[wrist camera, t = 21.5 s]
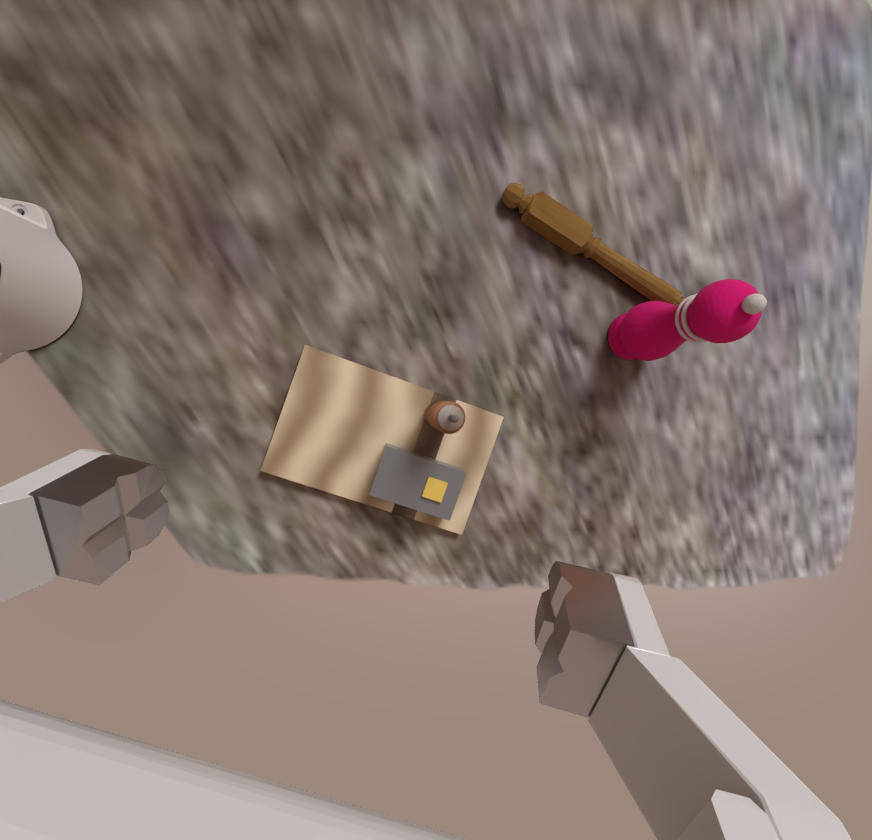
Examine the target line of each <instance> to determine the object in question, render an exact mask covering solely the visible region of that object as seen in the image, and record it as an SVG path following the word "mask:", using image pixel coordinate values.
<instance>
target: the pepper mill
mask: <svg viewBox="0 0 872 840" xmlns="http://www.w3.org/2000/svg"><path fill="white" fill-rule="evenodd" d="M766 304H767V301H766V298H765V297H764V296H763V295H761V294H758V292H757V291H756V289H755V288H754V287H752V286H751V285H750V284H748V283H746V282H744V281H741V280H734V279H727V280H721V281H717V282H714V283H712V284H710V285H708V286H706V287H704V288H703V289H702V290H701V291H700V292H699V293H698V294H695V295H692V296H689V297H687V298H686V299H684V300H683V301H682V302H681V303H680V305H672V304H669V303H666V302H661V301H649V302H645V303H641V304H638V305H636V306H634V307H633V308H632V309H630V310H629V311H628V312H627V313H625V314H622V315H620V316H618V317H617V318H616V319H615V320H614V321H613V322H612V324H611V326H610V328H609V331H608V342H609V345H610V347H611V349H612V351H613V352H614V353H615V354H616V355H617V356H618V357H620V358H622V359H626V360H634V359H639V360H645V361H651V360H656V359H659V358H663V357H665V356H667V355H668V354H670V353H672V352H673V351H675V350H676V349H677V348H678V347H679V346H680V345H681V344H682V343H683V342H685V341H687V340H688V341H690V342H694V343H701V342H705V341H710V342H713V343H728V342H732V341H736V340H738V339H740V338H742V337H744V336H746V335H747V334H748V333H750V332H751V331H752V330H753V329H754V328H755V326H756V325H757V323H758V321H759V319H760V317H761V313H762V310H763V309H764V308H765V306H766Z"/></svg>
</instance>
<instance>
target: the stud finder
mask: <svg viewBox="0 0 872 840" xmlns="http://www.w3.org/2000/svg"><path fill="white" fill-rule="evenodd" d="M466 474H467V473H466V472H465V471H464V470H463V469H461V468H459V467H456V466H453V465H450V464H447V463H444V462H441V461H438V460H435V459H432V458H429V457H426V456H423V455H420V454H417V453H415V452H412V451H409V450H406V449H403V448H400V447H397V446H394V445H391V444H388V443H386V445H385V448H384V451H383V454H382V457H381V459H380V462H379V465H378V468H377V471H376V474H375V476H374V479H373V482H372V485H371V488H370V493H369V495H371V496H374V497H377V498H380V499H383V500H386V501H389V502H393V503H396V504H399V505H402V506H405V507H408V508H411V509H415V510H418V511H421V512H424V513H427V514H430V515H433V516H436V517H440V518H443V519H446V520H449V521H450V519H451V516H452V513H453V510H454V508H455V505H456V502H457V499H458V496H459V493H460V491H461V488H462V485H463V482H464V479H465V476H466Z"/></svg>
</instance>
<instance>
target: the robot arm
mask: <svg viewBox="0 0 872 840" xmlns="http://www.w3.org/2000/svg"><path fill="white" fill-rule="evenodd" d="M23 212H25V214H24V215H22V213H23ZM81 300H82V281H81V276H80V272H79V269H78V267H77V265H76V262H75V260H74V259H73V257H72V255H71V254H70V252H69V251H68V250H67V249H66V247H65V246H64V245H63V244H62V242H61V241H60V240H59V238H58V237H57V235H56V233H55V229H54V226H53V223H52V220H51V217H50V215H49V213H48V212H47V211H46V210H45V209H44V208H42V207H40V206H38V205H35V204H32V203H27V202H22V201H17V200H11V199H6V198H1V197H0V363H2V362H3V361H5V360H6V359H8V358H9V357H11V356H12V355H13V354H16V353H19V352H23V351H28V350H33V349H36V348H39V347H42V346H45V345H47V344H49V343H51V342H53V341H54V340H56V339H57V338H58V337H60V336H61V335H62V334H63V333H64V332H65V331H66V330H67V329H68V328H69V327H70V326H71V324H72V323H73V321H74V319H75V318H76V316H77V314H78V311H79V308H80V305H81ZM164 485H165V479H164V474H163V470H162V469H161V468H159V467H158V466H156V465H153V464H149V463H145V462H142V461H138V460H134V459H130V458H126V457H123V456H119V455H115V454H110V453H106V452H102V451H98V450H94V449H81V450H79V451H76V452H74V453H72V454H70V455H68V456H66V457H63V458H61V459H59V460H57V461H55V462H53V463H51V464H49V465H47V466H45V467H42V468H40V469H39V470H36V471H34V472H32V473H30V474H28V475H26V476H24V477H22V478H19V479H18V480H15V481H13V482H11V483H9V484H7V485H5V486H3V487H1V488H0V603H1V602H3V601H5V600H8V599H10V598H12V597H15V596H17V595H19V594H21V593H24V592H26V591H28V590H30V589H33V588H35V587H37V586H40V585H42V584H44V583H46V582H49V581H51V580H53V579H55V578H56V577H57V576H61V577H66V578H70V579H74V580H78V581H83V582H87V583H92V584H96V585H100V584H101V583H103V582H104V581H105V580H106V579H108V578H109V577H110V576H111V575H112V574H113V573H115V572H116V571H117V570H118V569H120V568H121V567H122V566H123V565H124V564H126V563H127V562H128V561H129V559H130V555H131V551H133V550H135V549H138V548H141V547H144V546H147V545H148V544H149V543H151V542H152V541H153V540H154V539H155V538H156V537H157V536H159V534H160V532H161V531H162V529H163V527H164V526H165V524H166V522H167V518H168V513H169V509H168V501H167V500H166V498H165V497H164V496H163V494H162V493H161V492H160V490H161V489H162V487H163V486H164ZM56 575H57V576H56ZM548 579H549V588H550V589H548V590H547V591H545V592H543V593H542V595H541V598H540V601H539V604H538V608H537V614H536V620H535V645H536V646H537V647H538V649H539V650H540V652H541V653H542V654H541V657H540V660H539V662H538V665H537V676H538V690H539V703H541V704H544V705H548V706H551V707H554V708H558V709H561V710H564V711H568V712H571V713H574V714H578V715H581V716H585V717H588V718H589V722H590V724H591V726H592V728H593V729H594V731H595V733H596V734H597V736H598V738H599V740H600V741H601V743H602V745H603V747H604V748H605V750H606V752H607V753H608V755H609V757H610V759H611V760H612V762H613V764H614V765H615V767H616V769H617V771H618V772H619V774H620V776H621V778H622V779H623V781H624V783H625V784H626V786H627V788H628V789H629V791H630V793H631V795H632V796H633V798H634V800H635V802H636V803H637V805H638V807H639V808H640V810H641V812H642V814H643V815H644V817H645V819H646V821H647V822H648V824H649V826H650V827H651V829H652V831H653V832H654V834H655V836H656V838H657V840H851V838H850V836H849V834H848V833H847V831H846V829H845V828H844V826H843V824H842V822H841V821H840V820H839V819H838V818H837V817H836V816H835V815H834V814H833V813H832V812H831V811H830V810H829V809H828V808H827V807H826V806H825V805H824V804H823V803H822V802H821V801H820V800H819V799H818V798H817V797H816V796H815V795H814V794H813V793H812V792H811V790H810V789H808V787H807V786H805V784H803V782H801V780H799V778H798V777H796V775H794V773H793V772H792V771H790V770H789V768H788V767H787V766H786V765H785V764H784V763H783V762H781V760H780V759H778V757H777V756H776V755H775V754H774V753H773V752H772V751H771V750H770V749H769V748H768V747H766V745H765V744H764V743H763V742H762V741H761V740H760V739H759V738H758V737H757V736H756V735H755V734H754V733H753V732H752V731H751V730H750V729H749V728H748V727H747V726H746V725H745V724H744V723H743V722H742V721H741V720H740V719H739V718H738V717H737V716H736V715H735V714H734V713H733V712H732V711H731V710H730V709H729V708H728V707H727V706H726V705H725V704H724V703H723V702H722V701H721V700H720V699H719V698H718V697H717V696H716V695H715V694H714V693H713V692H712V691H711V690H710V689H709V688H708V687H707V686H706V685H705V684H704V683H703V682H702V681H701V680H700V679H699V678H698V677H697V676H696V675H695V674H694V673H693V672H692V671H691V670H690V669H689V668H688V667H687V666H686V665H685V664H684V663H683V662H682V661H681V660H680V659H678V658H674V657H670V654H669V652H668V649H667V647H666V644H665V642H664V639H663V637H662V634H661V632H660V629H659V627H658V624H657V622H656V619H655V617H654V614H653V612H652V609H651V607H650V604H649V602H648V599H647V596H646V594H645V592H644V589H643V587H642V584H641V582H640V581H639V580H638V579H637V578H633V577H628V576H623V575H619V574H614V573H606V572H602V571H597V570H593V569H589V568H585V567H580V566H576V565H572V564H567V563H563V562H559V561H555V563H554V564H553V566H552V568H551V570H550V573H549V575H548ZM0 840H469V839H465V838H462V837H459V836H455V835H452V834H449V833H445V832H442V831H439V830H435V829H432V828H428V827H425V826H421V825H419V824H415V823H412V822H408V821H405V820H402V819H398V818H395V817H391V816H389V815H385V814H382V813H378V812H375V811H372V810H368V809H365V808H362V807H358V806H355V805H352V804H348V803H345V802H342V801H338V800H335V799H332V798H328V797H325V796H322V795H318V794H315V793H311V792H308V791H304V790H302V789H298V788H295V787H291V786H288V785H284V784H281V783H278V782H274V781H271V780H268V779H264V778H261V777H258V776H255V775H251V774H248V773H245V772H241V771H238V770H234V769H231V768H228V767H225V766H221V765H218V764H214V763H211V762H208V761H204V760H201V759H198V758H194V757H191V756H188V755H184V754H181V753H178V752H174V751H171V750H168V749H164V748H161V747H158V746H154V745H151V744H148V743H144V742H141V741H137V740H134V739H131V738H127V737H124V736H121V735H117V734H114V733H111V732H107V731H104V730H101V729H97V728H94V727H91V726H87V725H83V724H80V723H77V722H74V721H70V720H67V719H64V718H60V717H57V716H53V715H50V714H47V713H43V712H40V711H37V710H33V709H30V708H27V707H23V706H20V705H17V704H13V703H10V702H6V701H3V700H0Z"/></svg>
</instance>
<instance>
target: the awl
mask: <svg viewBox="0 0 872 840" xmlns="http://www.w3.org/2000/svg"><path fill="white" fill-rule="evenodd" d="M425 419H426V421H427V423H428V424H429V425H430V426H432V427H433V428H435V429H437V430H439V431H441V432H443V433H446V434H453V433H456V432H458V431H459V430H460V429H461V428H462V427H463V425H464V423H465V412H464V410H463V408H462V407H461V406H460V405H459V404H458V403H456V402H452V401H435V402H432V403H431V404H429V405H428V407H427V408H426V410H425Z"/></svg>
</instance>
